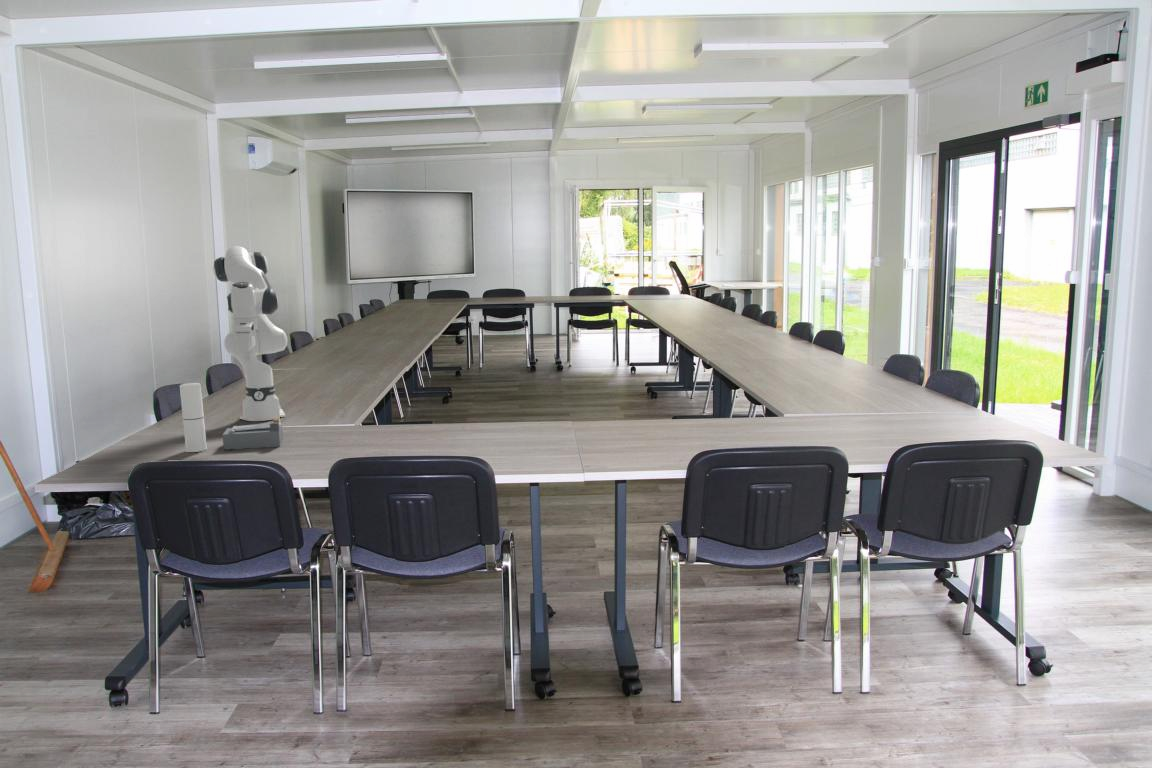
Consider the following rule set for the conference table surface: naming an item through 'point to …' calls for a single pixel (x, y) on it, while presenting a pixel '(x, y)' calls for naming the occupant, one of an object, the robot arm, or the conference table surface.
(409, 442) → the conference table surface
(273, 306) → the robot arm
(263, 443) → the clamp block
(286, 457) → the conference table surface
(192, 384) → the cylindrical container
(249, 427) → the lever
